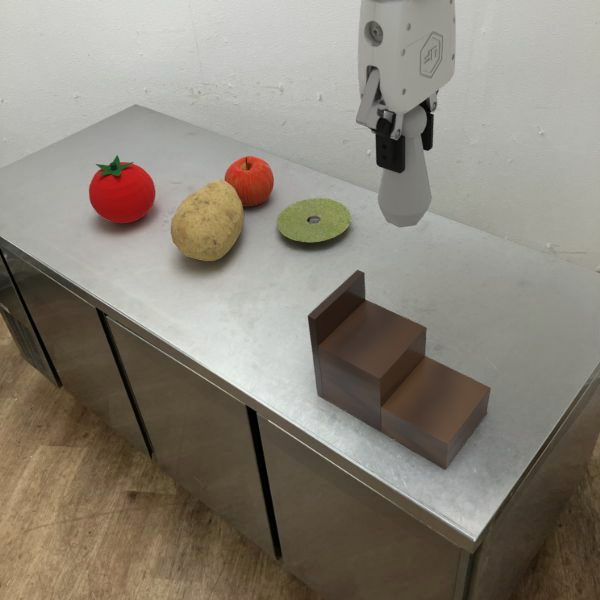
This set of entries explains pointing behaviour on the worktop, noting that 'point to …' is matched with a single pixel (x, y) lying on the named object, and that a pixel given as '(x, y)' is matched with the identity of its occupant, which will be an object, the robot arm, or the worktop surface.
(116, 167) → the tomato
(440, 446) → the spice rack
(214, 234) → the potato
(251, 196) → the apple
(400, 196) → the salt shaker
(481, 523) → the worktop surface
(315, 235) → the mat
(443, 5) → the robot arm
